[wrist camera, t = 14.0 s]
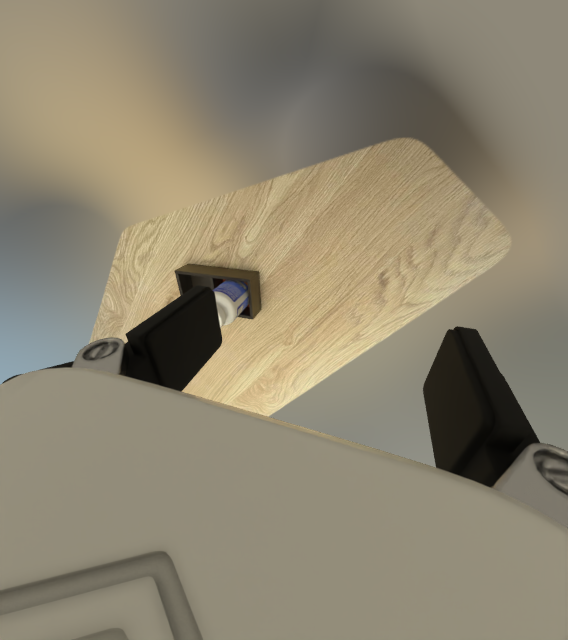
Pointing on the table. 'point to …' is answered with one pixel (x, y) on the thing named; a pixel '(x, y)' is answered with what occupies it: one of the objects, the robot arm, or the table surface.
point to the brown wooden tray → (216, 276)
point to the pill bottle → (231, 300)
